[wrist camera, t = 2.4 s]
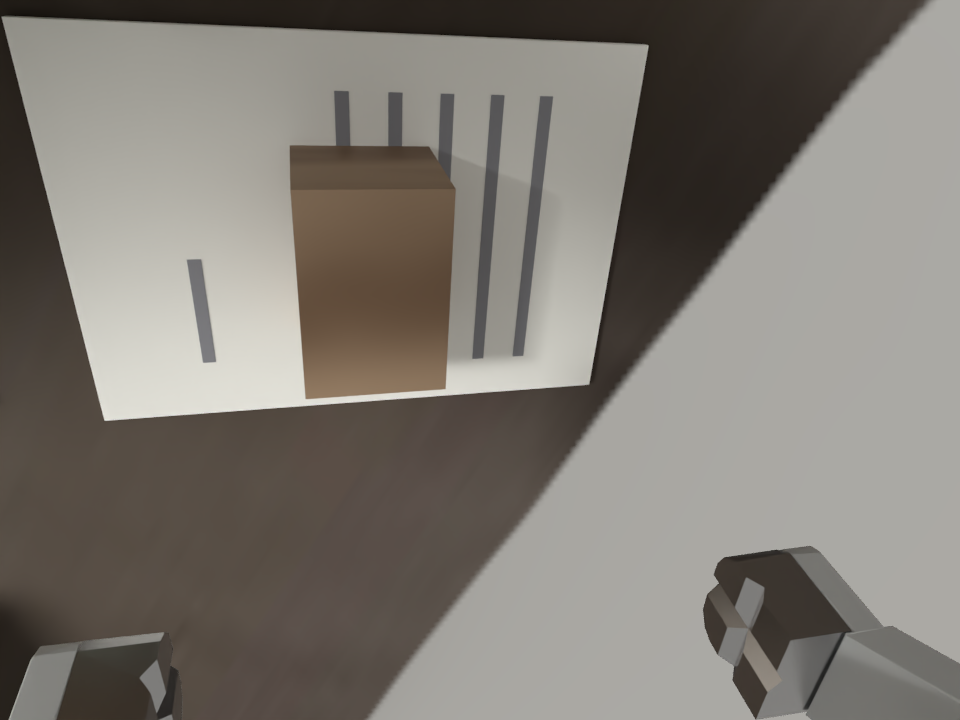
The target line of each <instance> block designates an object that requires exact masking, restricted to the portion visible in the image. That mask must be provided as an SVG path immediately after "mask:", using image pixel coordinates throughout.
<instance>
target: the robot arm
mask: <svg viewBox="0 0 960 720" xmlns="http://www.w3.org/2000/svg"><path fill="white" fill-rule="evenodd" d="M714 576H715V577H716V579H717V580H718V582H719V584H718V585H717V586H716V587H715V588H714V589H712V591H710V592H709V593H708V594H707V598H706V601H705V604H704V608H703V612H704V623H705V629H706V631H707V634H708V637H709V640H710V642H711V644H712V645H713V647H714V649H715V651H716V652H717V654H718V655H719V656H720V657H722V658H723V659H725V660H726V661H728V662H729V663H731V664H732V665H733V666H734V672H733V682H734V684H735V685H736V687H737V688H738V690H739V692H740V694H741V695H742V697H743V699H744V700H745V702H746V704H747V706H748V707H749V709H750V710H751V712H752V714H753V716H754V717H755V719H763V718H769V717H776V716H782V715H788V714H795V713H801V712H807V713H806V716H808V717H809V718H810V719H811V720H960V664H959V663H958V662H956V661H954V660H952V659H950V658H949V657H947V656H945V655H943V654H941V653H940V652H938V651H936V650H934V649H933V648H931V647H929V646H927V645H925V644H924V643H922V642H920V641H918V640H916V639H914V638H913V637H911V636H909V635H907V634H906V633H904V632H902V631H900V630H898V629H897V628H895V627H893V626H888V627H883V626H882V625H881V623H880V622H879V621H878V620H877V618H876V617H875V616H874V615H873V614H872V613H871V612H870V610H869V609H868V608H867V607H866V606H865V604H864V603H863V602H862V601H861V600H860V599H859V597H858V596H857V595H856V594H855V593H854V592H853V590H852V589H851V588H850V587H849V586H848V585H847V583H846V582H845V581H844V580H843V579H842V577H841V576H840V575H839V574H838V573H837V571H836V570H835V569H834V568H833V567H832V566H831V564H830V563H829V562H828V561H827V560H826V559H825V557H824V556H823V555H822V554H821V553H820V552H819V551H818V550H816V549H815V548H813V547H811V546H806V547H799V548H791V549H783V550H771V551H765V552H758V553H752V554H745V555H738V556H731V557H725V558H723V559H722V560H721V561H720V562H719V563H718V564H717V567H716V570H715V573H714ZM172 653H173V646H172V643H171V639H170V636H169V633H166V632H164V633H155V634H145V635H136V636H126V637H117V638H108V639H98V640H89V641H82V642H73V643H65V644H56V645H48V646H40V648H39V649H38V650H37V652H36V653H35V654H34V656H33V657H32V658H31V660H30V663H29V665H28V668H27V671H26V674H25V676H24V679H23V682H22V684H21V687H20V690H19V693H18V695H17V698H16V701H15V704H14V706H13V709H12V712H11V715H10V717H9V720H182V688H181V680H180V676H179V671H178V670H177V669H175V668H174V667H172V666H170V665H171V659H172Z"/></svg>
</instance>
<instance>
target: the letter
mask: <svg viewBox="0 0 960 720" xmlns="http://www.w3.org/2000/svg"><path fill="white" fill-rule="evenodd" d="M2 21H3V25H4V28H5V32H6V36H7V40H8V44H9V48H10V52H11V56H12V60H13V64H14V68H15V72H16V76H17V79H18V83H19V87H20V91H21V95H22V99H23V103H24V107H25V111H26V115H27V119H28V123H29V126H30V130H31V134H32V138H33V142H34V146H35V150H36V154H37V158H38V162H39V166H40V170H41V173H42V177H43V181H44V185H45V189H46V193H47V197H48V201H49V205H50V209H51V213H52V217H53V221H54V224H55V228H56V232H57V236H58V240H59V244H60V248H61V252H62V256H63V260H64V264H65V268H66V271H67V275H68V279H69V283H70V287H71V291H72V295H73V299H74V303H75V307H76V311H77V315H78V318H79V322H80V326H81V330H82V334H83V338H84V342H85V346H86V350H87V354H88V358H89V362H90V366H91V369H92V373H93V377H94V381H95V385H96V389H97V393H98V397H99V401H100V405H101V409H102V413H103V416H104V420H105V421H108V420H122V419H135V418H149V417H162V416H176V415H189V414H202V413H216V412H229V411H243V410H256V409H269V408H283V407H296V406H310V405H323V404H337V403H350V402H363V401H377V400H390V399H404V398H417V397H430V396H444V395H457V394H471V393H484V392H498V391H511V390H524V389H538V388H551V387H565V386H578V385H589V382H590V377H591V371H592V365H593V360H594V354H595V348H596V343H597V337H598V331H599V326H600V320H601V314H602V309H603V303H604V297H605V291H606V286H607V280H608V274H609V269H610V263H611V257H612V252H613V246H614V240H615V235H616V229H617V223H618V218H619V212H620V206H621V200H622V195H623V189H624V183H625V178H626V172H627V166H628V161H629V155H630V149H631V144H632V138H633V132H634V126H635V121H636V115H637V109H638V104H639V98H640V92H641V87H642V81H643V75H644V70H645V64H646V58H647V53H648V47H649V46H648V45H646V44H631V43H608V42H586V41H564V40H541V39H519V38H497V37H474V36H452V35H430V34H407V33H385V32H363V31H340V30H318V29H296V28H273V27H251V26H229V25H207V24H184V23H162V22H140V21H117V20H95V19H73V18H50V17H28V16H3V17H2ZM290 145H308V146H429V147H430V149H431V151H432V152H433V154H434V155H435V157H436V158H437V160H438V162H439V163H440V165H441V166H442V168H443V170H444V171H445V173H446V174H447V176H448V177H449V179H450V181H451V182H452V184H453V185H454V187H455V189H456V195H455V215H454V234H453V254H452V274H451V293H450V313H449V333H448V352H447V372H446V389H441V390H428V391H414V392H400V393H386V394H372V395H359V396H345V397H331V398H317V399H305V385H304V371H303V358H302V344H301V330H300V316H299V303H298V289H297V275H296V261H295V248H294V234H293V220H292V206H291V193H290Z"/></svg>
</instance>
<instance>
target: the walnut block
mask: <svg viewBox="0 0 960 720" xmlns="http://www.w3.org/2000/svg"><path fill="white" fill-rule="evenodd" d="M290 193H291V206H292V220H293V234H294V248H295V261H296V275H297V289H298V303H299V316H300V330H301V344H302V358H303V371H304V385H305V399H317V398H331V397H345V396H359V395H372V394H386V393H400V392H414V391H428V390H441V389H446V372H447V352H448V333H449V313H450V293H451V274H452V254H453V234H454V215H455V195H456V189H455V187H454V185H453V184H452V182H451V181H450V179H449V177H448V176H447V174H446V173H445V171H444V170H443V168H442V166H441V165H440V163H439V162H438V160H437V158H436V157H435V155H434V154H433V152H432V151H431V149H430V147H429V146H308V145H290Z"/></svg>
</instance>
